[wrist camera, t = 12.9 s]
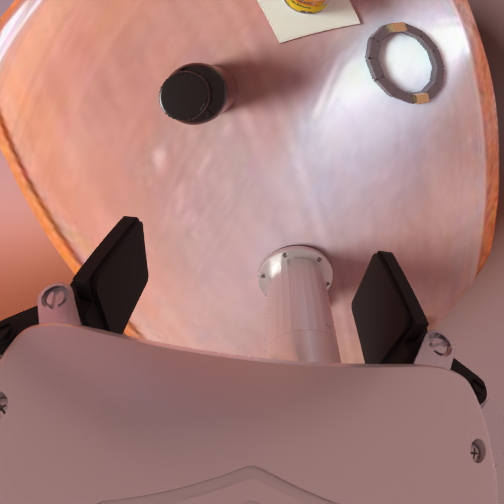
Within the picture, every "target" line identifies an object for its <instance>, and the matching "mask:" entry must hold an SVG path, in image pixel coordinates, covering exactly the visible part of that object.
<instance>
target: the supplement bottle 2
mask: <svg viewBox="0 0 504 504" xmlns="http://www.w3.org/2000/svg"><path fill="white" fill-rule="evenodd" d="M330 1H331V0H284V2H285V3H286V4H287V6H288V7H290V8H291V9H292V10H294V11H296V12H299V13H303V14H314V13H318V12H320V11H322V10H323V9H324V8H325V7H326V6H327V5H328V4H329V3H330Z"/></svg>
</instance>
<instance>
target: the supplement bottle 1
mask: <svg viewBox="0 0 504 504" xmlns="http://www.w3.org/2000/svg"><path fill="white" fill-rule="evenodd" d="M159 93H160V95H159V102H160V106H161V107H162V110H163V111H165V114H167V115H168V116H169V117H172V118H173V119H176V120H178V121H179V122H182V123H185V124H189V125H198V124H203V123H206V122H209V121H211V120H212V119H214V118H215V117H217V116H219V115H220V114H222V113H223V112H225V111H226V110H227V109H229V108H230V107H231V105H232V104H233V102H234V101H235V98H236V95H237V85H236V82H235V79H234V78H233V76H232V75H231V74H230V73H229V72H228V71H226V70H225V69H223V68H220V67H217V66H213V65H209V64H204V63H190V64H186V65H184V66H182V67H180V68H178V69H177V70H175V71H174V72H173V73H172V74H171V75H170V76H169V78H168V79H166V81H165V82H164V83H163V86H162V87H161V90H160V92H159Z"/></svg>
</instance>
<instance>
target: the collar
mask: <svg viewBox="0 0 504 504" xmlns="http://www.w3.org/2000/svg"><path fill="white" fill-rule="evenodd" d="M397 32H402V33H404V34H406V35H409V36H411V37H413V38H415V39H417V41H418V42H419V43H420V44H421V45H422V46H423V47H424V48H425V50H426V51H427V53H428V56H429V59H430V62H431V65H432V71H431V77H430V82H429V83H428V84H427V85H426V86H425V87H424V88H423V89H422V90H421V91H420V92H415V93H410V94H408V93H405V92H403V91H400V90H397V89H396V88H395V87H394V86H393V85H392V84H391V83H390V82H389V81H388V80H387V78H386V77H385V76H384V74H383V71H382V69H381V66H380V63H379V60H378V55H379V48H380V43H381V42H382V41H383V40H384V39H385V38H386V37H387V36H388V35H389V34H390V33H397ZM365 58H367V59H366V62H367V65H368V68H369V70H370V73H371V76H372V79H374V81H375V82H376V83H377V84H378V85H379V86H380V87H381V88H382V89H383V91H384V92H385V93H386V94H387V95H389V96H391V97H394V98H396V99H399V100H402V101H405V102H407V103H412V104H414V103H416V104H421V103H426V102H430V99H431V98H432V97H433V96H434V95H435V94H436V93H437V92H438V91H439V89H440V87H441V86H442V80H443V74H444V69H442V68H444V66H443V63H442V59H441V56H440V53H439V50H438V49H437V47H436V45H435V44H434V43H433V42H432V41H431V40H430V38H429V37H428V36H427V35H426V34H425V33H423V31H421V30H419V29H417V28H415V27H413V26H410V25H408V24H406V23H404V22H400V23H391V24H387V25H384V26H381V27H380V28H379V29H378V30H377V31H376V32H375V33H374V34H373V35H372V36H371V37H370V38H369V40H368V43H367V50H366V56H365Z"/></svg>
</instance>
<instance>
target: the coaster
mask: <svg viewBox="0 0 504 504" xmlns="http://www.w3.org/2000/svg"><path fill="white" fill-rule="evenodd" d="M257 1H258V3H259V4H260V6H261V8H262V10H263V12H264V13H265V15H266V17H267V19H268V21H269V23H270V25H271V27H272V29H273V31H274V33H275V35H276V37H277V39H278V41H279V43H283V42H286V41H290V40H293V39H296V38H300V37H303V36H307V35H311V34H315V33H319V32H323V31H327V30H331V29H336V28H341V27H346V26H351V25H357V24H360V21H359V19H358V17H357V15H356V13H355V10H354V8H353V6H352V4H351V2H350V1H349V0H331V1H330V3H329V4H328V5H327V6H326V7H325V8H324V9H323V10H322V11H320V12H318V13H314V14H303V13H299V12H296V11H294V10H292V9H291V8H290V7H288V6H287V4H286V3H285V2H284V0H257Z"/></svg>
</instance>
